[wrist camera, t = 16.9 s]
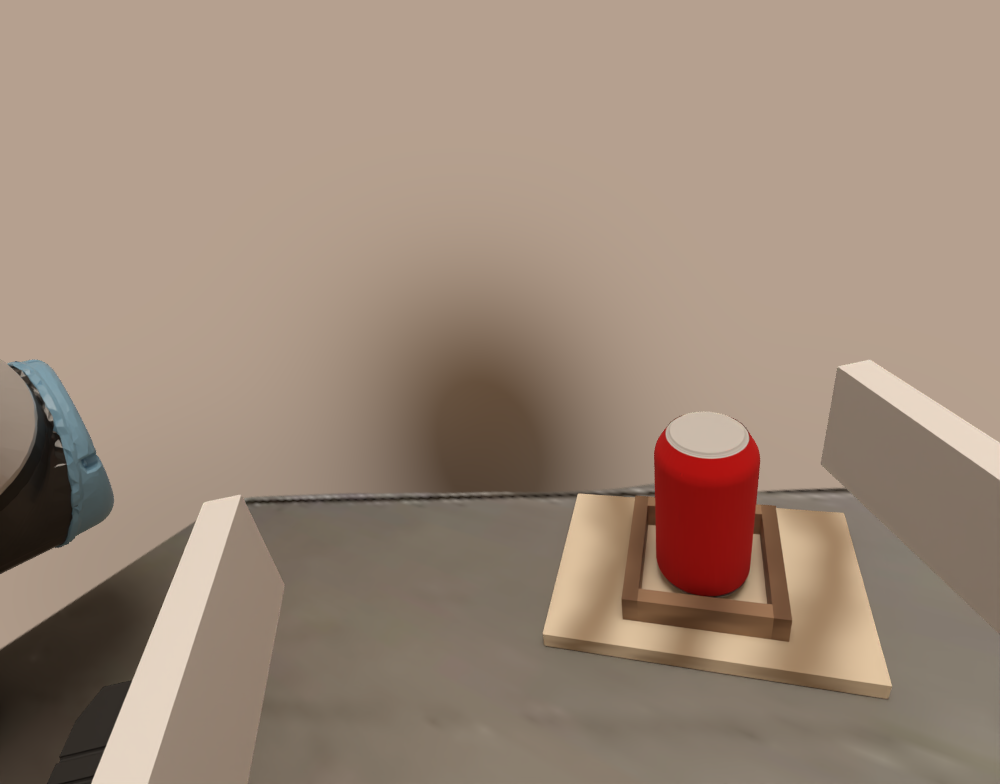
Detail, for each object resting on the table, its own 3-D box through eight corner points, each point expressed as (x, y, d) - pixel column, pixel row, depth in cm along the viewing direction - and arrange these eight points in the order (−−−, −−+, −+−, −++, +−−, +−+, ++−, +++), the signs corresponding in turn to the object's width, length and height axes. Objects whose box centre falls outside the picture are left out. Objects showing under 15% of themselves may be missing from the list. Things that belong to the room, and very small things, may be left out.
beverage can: (691, 620, 39) (695, 476, 33) (639, 557, 44) (634, 422, 38) (769, 585, 40) (786, 440, 34) (709, 527, 45) (715, 393, 39)
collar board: (544, 645, 40) (539, 614, 38) (579, 504, 51) (576, 475, 50) (888, 699, 34) (898, 664, 32) (841, 525, 45) (847, 492, 44)
